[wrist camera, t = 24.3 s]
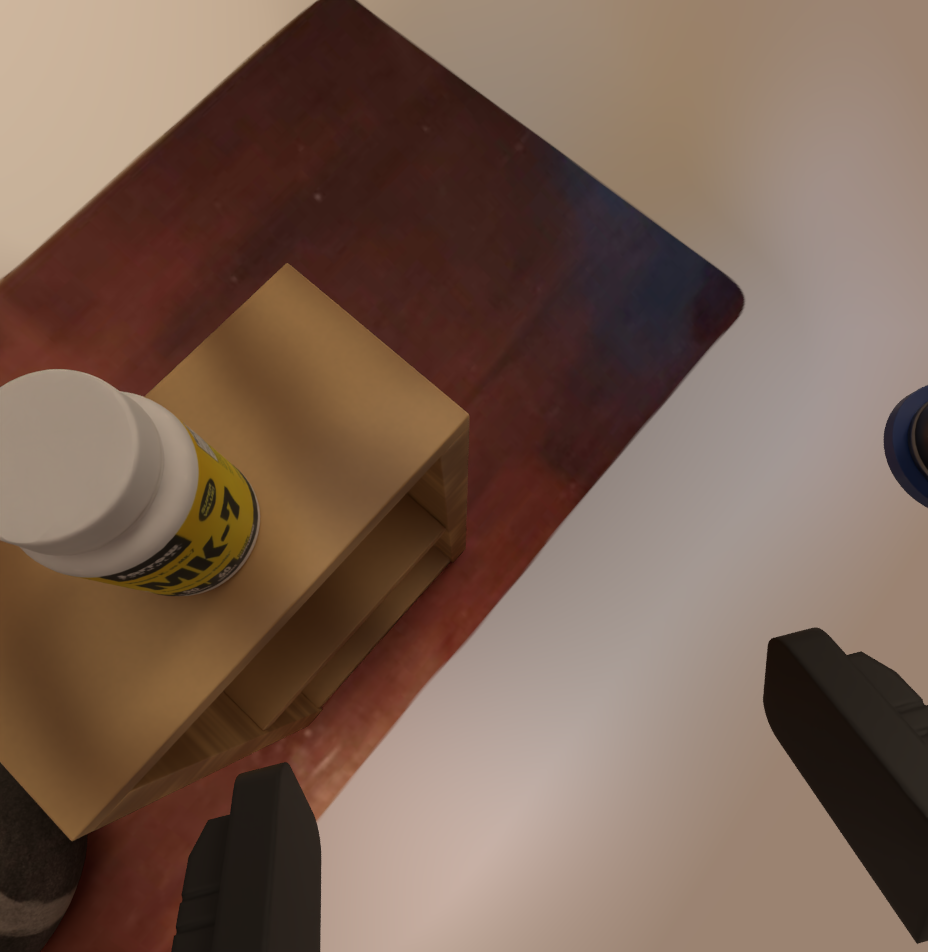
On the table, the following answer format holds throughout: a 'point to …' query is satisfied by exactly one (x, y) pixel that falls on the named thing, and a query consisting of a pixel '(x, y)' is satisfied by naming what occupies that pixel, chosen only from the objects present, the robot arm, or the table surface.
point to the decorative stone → (33, 869)
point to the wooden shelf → (259, 579)
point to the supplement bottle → (118, 488)
